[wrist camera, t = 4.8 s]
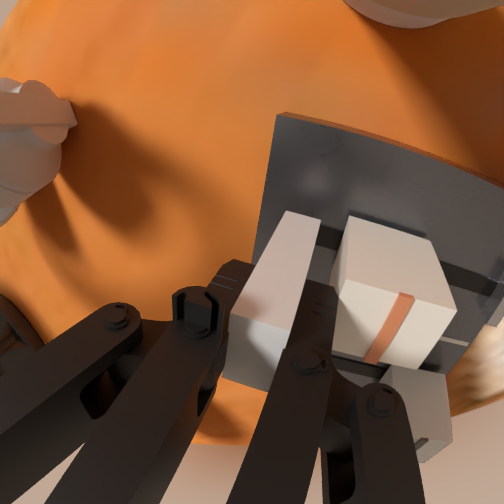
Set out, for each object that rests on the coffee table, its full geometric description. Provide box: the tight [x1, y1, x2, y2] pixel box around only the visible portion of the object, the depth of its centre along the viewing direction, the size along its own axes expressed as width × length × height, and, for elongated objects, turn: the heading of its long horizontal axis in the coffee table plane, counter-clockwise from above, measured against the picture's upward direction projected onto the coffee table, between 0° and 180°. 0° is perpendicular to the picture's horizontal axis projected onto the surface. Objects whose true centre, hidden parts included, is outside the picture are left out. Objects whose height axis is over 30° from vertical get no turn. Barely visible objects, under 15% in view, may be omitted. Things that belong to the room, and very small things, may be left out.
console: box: [251, 112, 504, 387], centre depth 16 cm, size 14×18×3 cm
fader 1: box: [329, 216, 457, 370], centre depth 11 cm, size 4×3×5 cm
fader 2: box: [379, 364, 453, 463], centre depth 15 cm, size 4×3×5 cm
